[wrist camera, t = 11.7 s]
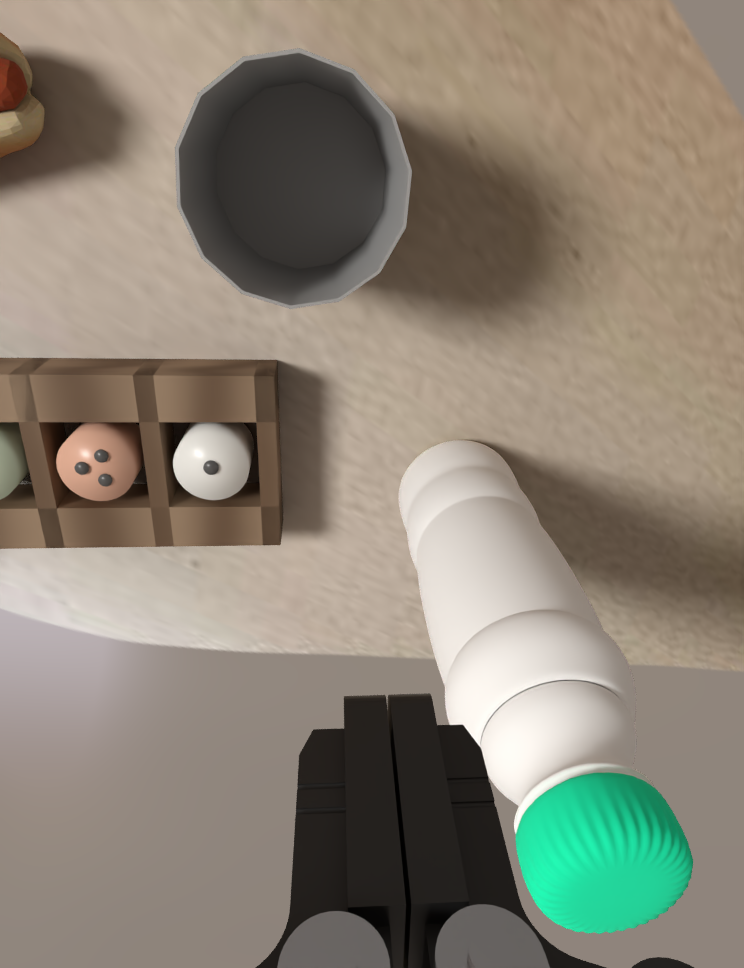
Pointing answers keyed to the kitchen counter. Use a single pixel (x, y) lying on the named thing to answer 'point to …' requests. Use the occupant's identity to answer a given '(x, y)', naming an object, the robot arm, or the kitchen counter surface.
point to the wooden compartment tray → (155, 405)
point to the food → (17, 101)
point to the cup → (292, 178)
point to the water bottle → (539, 694)
